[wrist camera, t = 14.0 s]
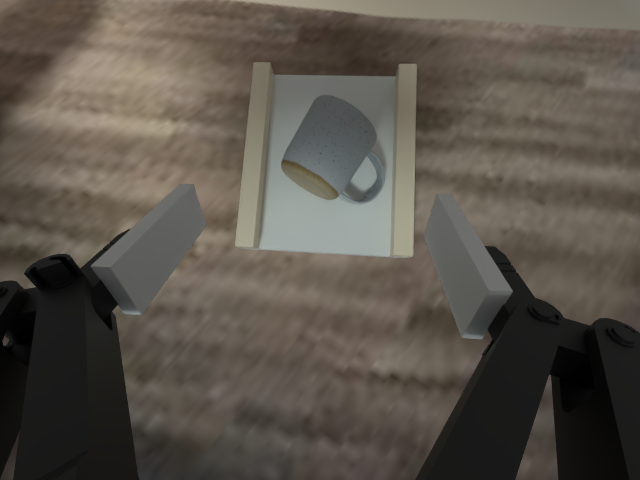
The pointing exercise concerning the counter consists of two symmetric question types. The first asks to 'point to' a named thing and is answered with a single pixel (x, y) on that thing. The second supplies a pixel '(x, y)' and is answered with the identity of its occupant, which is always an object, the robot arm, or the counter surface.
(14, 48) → the counter surface
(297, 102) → the rail tray
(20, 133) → the counter surface
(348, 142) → the ceramic mug
